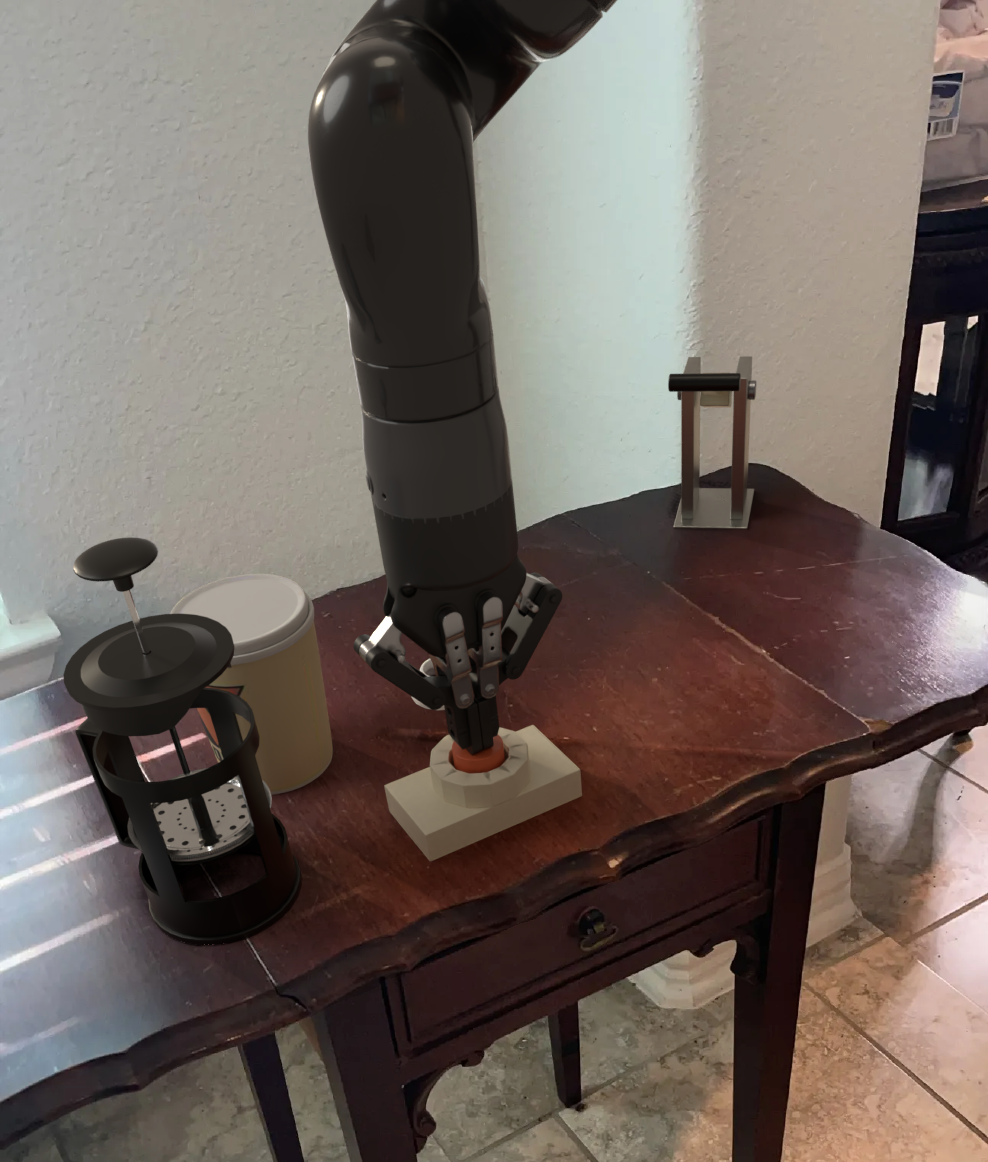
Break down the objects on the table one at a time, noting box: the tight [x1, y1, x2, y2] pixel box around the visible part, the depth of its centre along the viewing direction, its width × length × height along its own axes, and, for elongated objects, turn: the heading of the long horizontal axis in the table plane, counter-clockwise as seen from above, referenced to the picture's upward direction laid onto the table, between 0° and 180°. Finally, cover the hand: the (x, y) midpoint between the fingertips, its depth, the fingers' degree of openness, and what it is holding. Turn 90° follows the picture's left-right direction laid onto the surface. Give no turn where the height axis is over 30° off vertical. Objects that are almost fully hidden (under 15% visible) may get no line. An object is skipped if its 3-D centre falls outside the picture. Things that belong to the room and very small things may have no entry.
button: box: [452, 735, 505, 774], centre depth 79 cm, size 3×3×2 cm
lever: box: [667, 372, 741, 409], centre depth 95 cm, size 12×5×2 cm, turn 166°
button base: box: [383, 724, 583, 862], centre depth 80 cm, size 11×6×4 cm, turn 119°
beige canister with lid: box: [169, 573, 334, 796], centre depth 83 cm, size 9×9×12 cm
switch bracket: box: [672, 355, 757, 531], centre depth 102 cm, size 7×6×13 cm
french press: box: [63, 536, 303, 946], centre depth 70 cm, size 12×9×23 cm
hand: (476, 744), depth 78 cm, fingers closed
